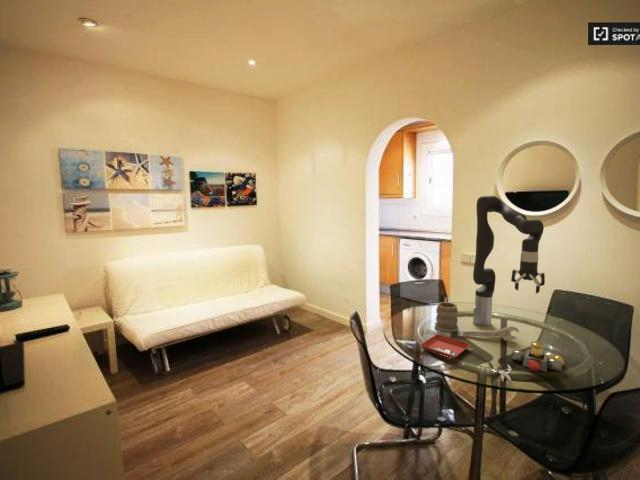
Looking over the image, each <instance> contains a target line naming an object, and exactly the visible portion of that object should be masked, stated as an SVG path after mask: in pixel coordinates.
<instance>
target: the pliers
mask: <svg viewBox="0 0 640 480" xmlns="http://www.w3.org/2000/svg"><path fill="white" fill-rule="evenodd" d="M486 364H488V365H489V366H490V364H489V363H488V362H486ZM505 370H508V371H510V372H511V373H512V367H511V366H510V364H507V369H503V371H504V372H503V371H500V370H499V371H500V372H499V371H498V373H499V374H501V375H500V380H501V379H502V380H501V382H502V383H504V382H505V381H504V380H507V381H508V383H512V378H511V377H510V374H507V373H505V372H506V371H505ZM504 377H506V378H504Z"/></svg>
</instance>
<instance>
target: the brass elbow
mask: <svg viewBox="0 0 640 480" xmlns="http://www.w3.org/2000/svg"><path fill="white" fill-rule="evenodd" d="M543 354H547V355H548V358H550V359H554V360H558V361H562V367H563V366H564V365H565V361H564V359H563V358H562V356H561V355H559V354H556V353H549V352H547V353H546V352H544V353H543Z"/></svg>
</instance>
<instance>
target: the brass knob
mask: <svg viewBox="0 0 640 480" xmlns="http://www.w3.org/2000/svg"><path fill="white" fill-rule="evenodd" d="M543 350H544V344H543V343H542V342H540V341H531V342H530V351H531V357H533V358H537V359H541V360H542V353H543Z"/></svg>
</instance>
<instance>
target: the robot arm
mask: <svg viewBox="0 0 640 480" xmlns="http://www.w3.org/2000/svg"><path fill="white" fill-rule="evenodd" d="M475 209H476V238H475V239H476V241H475V259H474V265H473V271H472V272H473V273H472V278H473V282H474V283H475V285H478V286H480V287H478V288H477V289H475V294H474V295H475V296H474V297H475V299H474V307H473V317H472V323H473V324H475V325H479V326H483V327H488V326H489V327H490V326H491V325H492V315H493V297H494V292H495V287H496V272H495V271H494V269H493V268H491V267H490V268H489V267H487V268H485V264H486V261H487V259H488V257H489V255H490V254H491V253H492V251H493V249H494V246H495V234H494V231H493V229H492V228H491V226H490V223H489V220H488V213H497V214H499V215H501V216H502V218H503V220H505V222H507V223H509V224H510V225H512V226H513V227H515V229H517V230H518V231H519V233H521V234H522V235H523V234H524V235H528V237H526V238H525V239H522V242H521V252H520V259H519V260H520V262H519V270H518V269H516V268H515V269H513V270H512V272H511V279H510V280H511V282H512V283H513V282H514V289H515V290H516V291H519V286H520V283H519V282H520V281H522V280H524V281H533V283H534V284H535V285H536V286H535V287H536V288H535V294H539V293H540V291H541V290H540V289H541V287H542V286H545V284H546V282H545V281H546V280H545V279H546V274H545V272H539V271H538V269H539V268H538V265H539V247H540V246H539V244H540V241H541V240H542V236H543V233H544V227H545V226H544V223H543V222H542V221H541V220H540V219H528V218H527V216H526V215H525V214H523V213H521V212H519V211H518V210H516V209H514V208H512V207H511V206H509V205H507V203H506V202H504V201H502V199H500V198H499V197H497V196H495V195H481V196H479V197H478V198H477V201H476V207H475ZM517 274H518V275H519V277H518V278H517V279H516V275H517ZM538 276H539V278H540V280H541V281H540V280H538V278H537V277H538Z"/></svg>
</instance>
